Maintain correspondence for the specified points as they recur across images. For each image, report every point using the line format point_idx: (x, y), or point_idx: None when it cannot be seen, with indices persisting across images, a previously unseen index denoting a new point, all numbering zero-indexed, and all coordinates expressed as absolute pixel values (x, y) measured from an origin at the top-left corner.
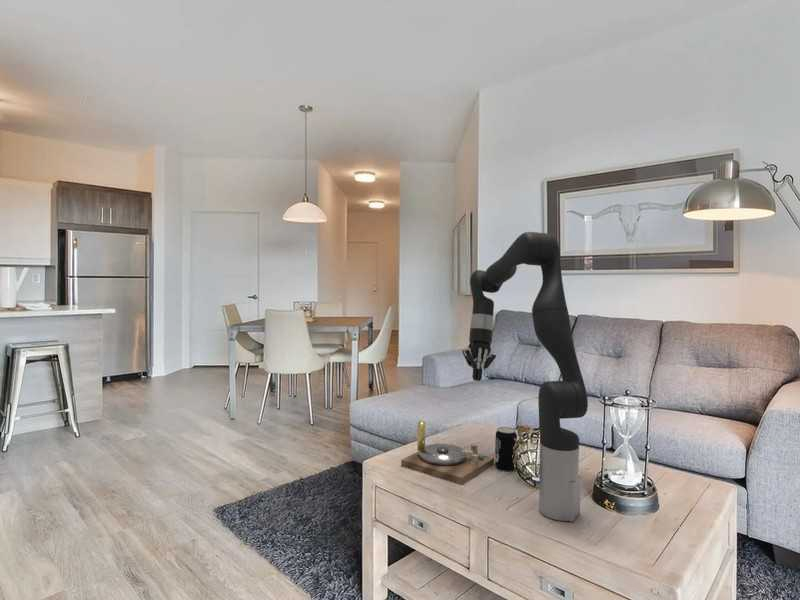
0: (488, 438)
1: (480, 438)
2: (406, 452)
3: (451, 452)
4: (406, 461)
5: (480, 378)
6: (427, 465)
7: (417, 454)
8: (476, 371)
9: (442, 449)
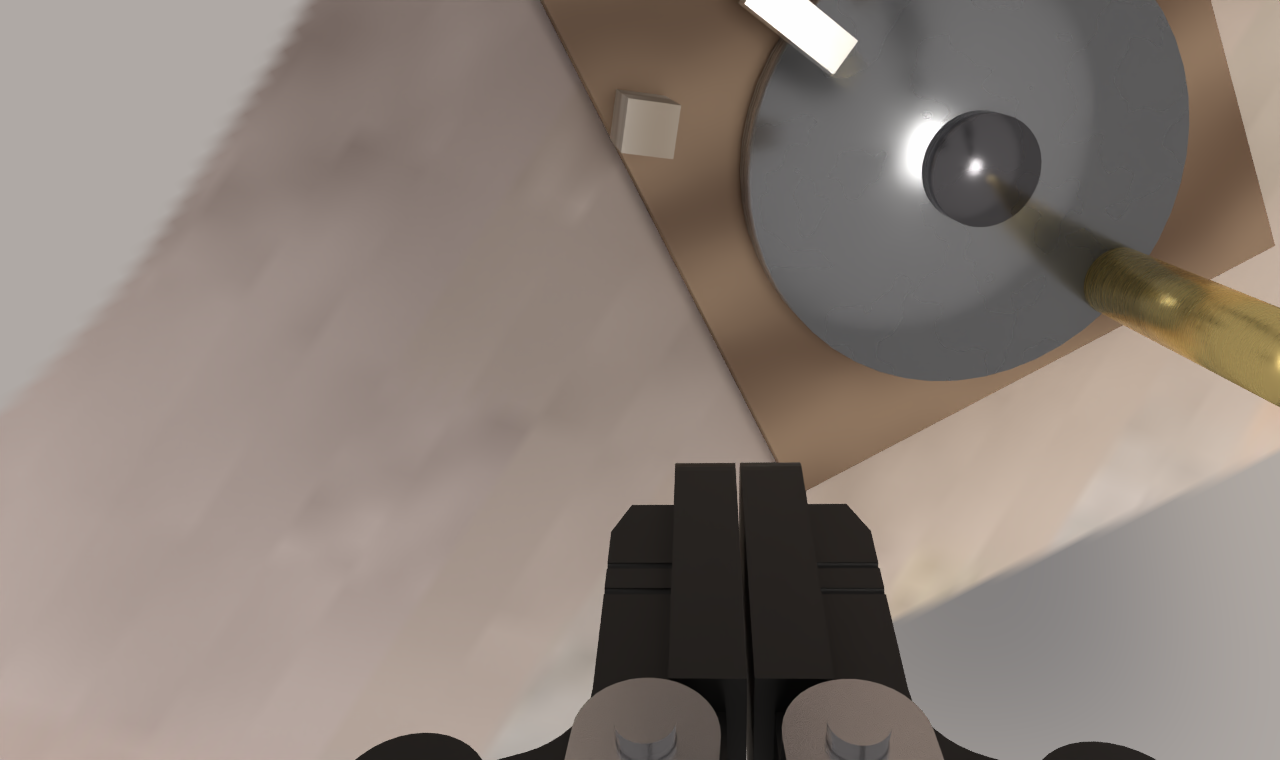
0: (164, 562)
1: (245, 584)
2: (1039, 478)
3: (915, 115)
4: (1261, 195)
5: (689, 484)
6: (1179, 34)
7: None
8: (858, 646)
9: (1004, 152)
